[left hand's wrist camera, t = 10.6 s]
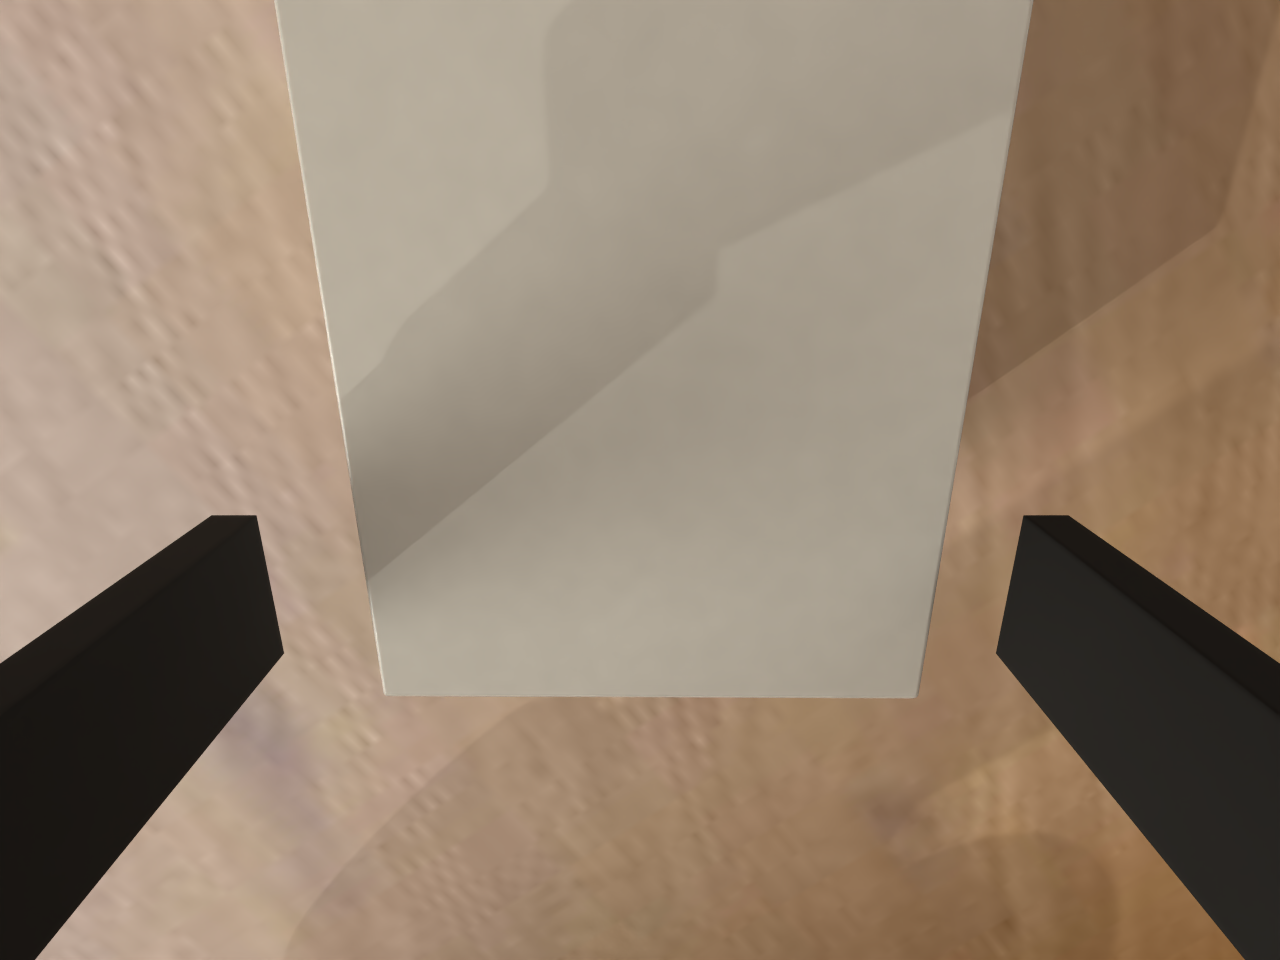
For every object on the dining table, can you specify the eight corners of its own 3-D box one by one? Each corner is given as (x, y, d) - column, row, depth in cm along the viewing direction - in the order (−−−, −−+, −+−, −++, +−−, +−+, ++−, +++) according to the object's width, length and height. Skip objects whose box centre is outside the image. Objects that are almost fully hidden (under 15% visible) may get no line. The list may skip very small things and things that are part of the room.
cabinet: (425, -162, 16) (182, -559, 8) (877, -165, 16) (1131, -570, 8) (483, 508, 22) (381, 698, 14) (815, 508, 22) (919, 700, 14)
